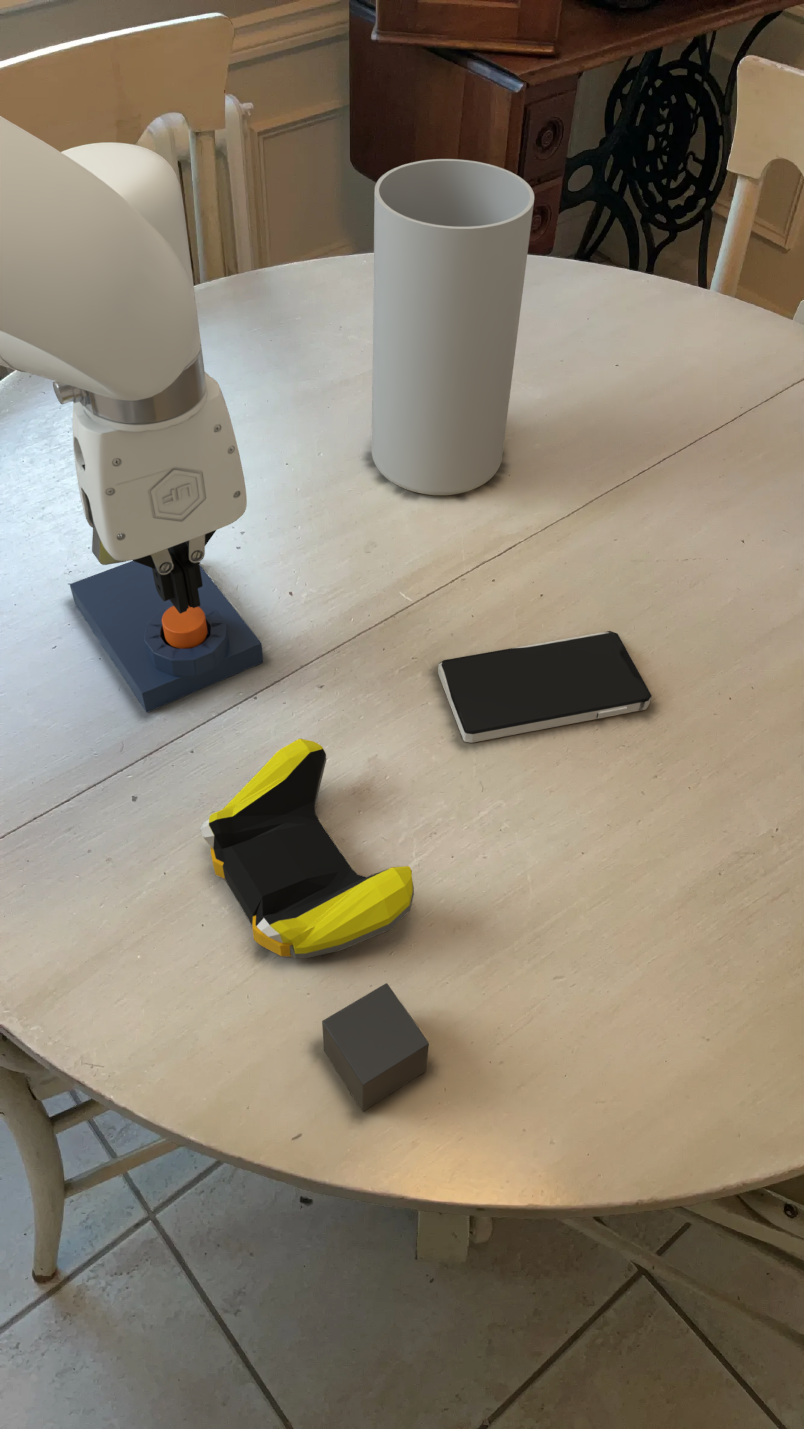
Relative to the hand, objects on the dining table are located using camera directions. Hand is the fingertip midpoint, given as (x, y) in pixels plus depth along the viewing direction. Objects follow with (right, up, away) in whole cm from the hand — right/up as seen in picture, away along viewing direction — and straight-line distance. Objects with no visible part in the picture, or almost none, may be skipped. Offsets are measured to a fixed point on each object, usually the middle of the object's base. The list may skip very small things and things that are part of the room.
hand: (181, 598), depth 77 cm
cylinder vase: (+19, +16, +24) cm, 35 cm away
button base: (-3, -2, +8) cm, 8 cm away
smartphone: (+27, -7, +5) cm, 28 cm away
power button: (0, -2, +3) cm, 4 cm away
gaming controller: (+9, -20, -7) cm, 23 cm away
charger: (+15, -29, -15) cm, 36 cm away
